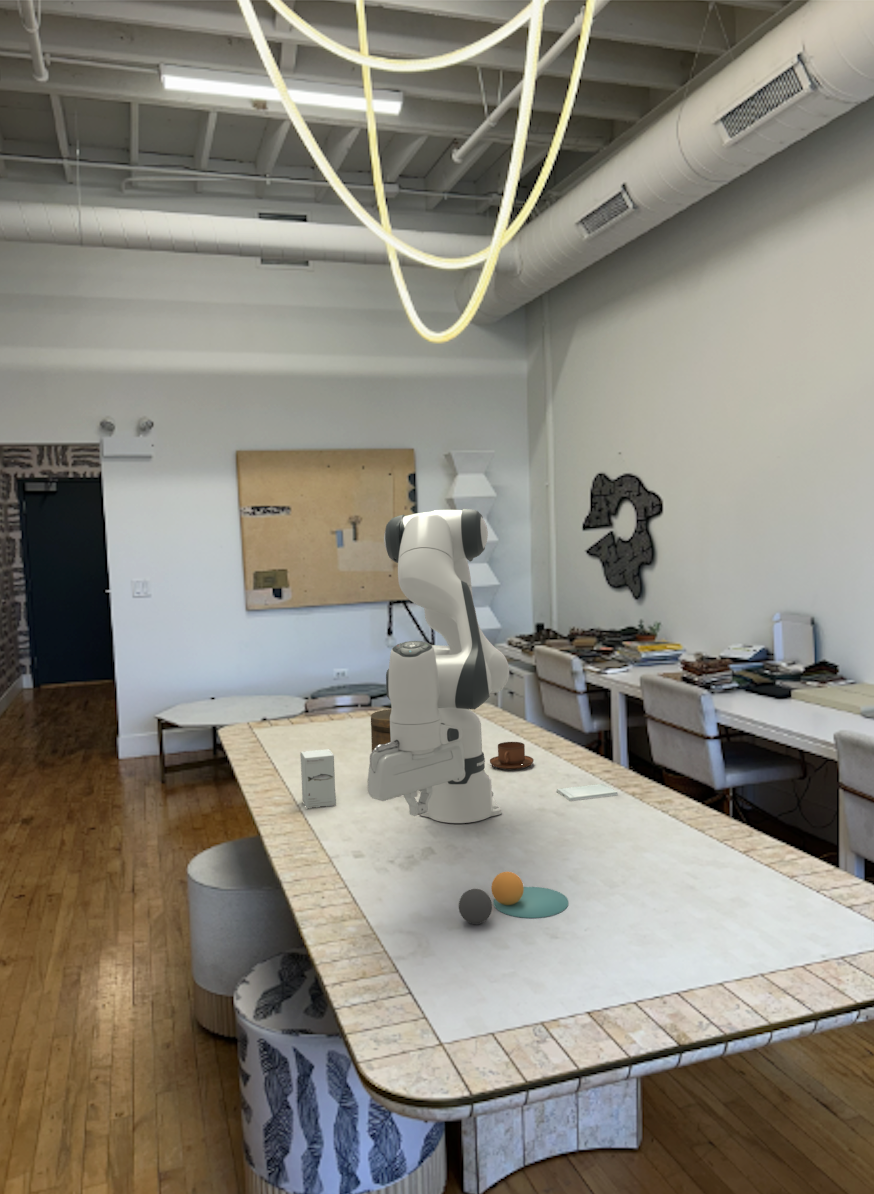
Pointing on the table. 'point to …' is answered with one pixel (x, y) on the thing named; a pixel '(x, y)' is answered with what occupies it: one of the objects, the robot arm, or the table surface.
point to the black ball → (475, 906)
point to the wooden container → (380, 728)
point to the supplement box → (318, 778)
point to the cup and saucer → (511, 756)
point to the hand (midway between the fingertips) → (418, 813)
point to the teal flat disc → (535, 903)
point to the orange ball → (507, 888)
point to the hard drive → (587, 792)
